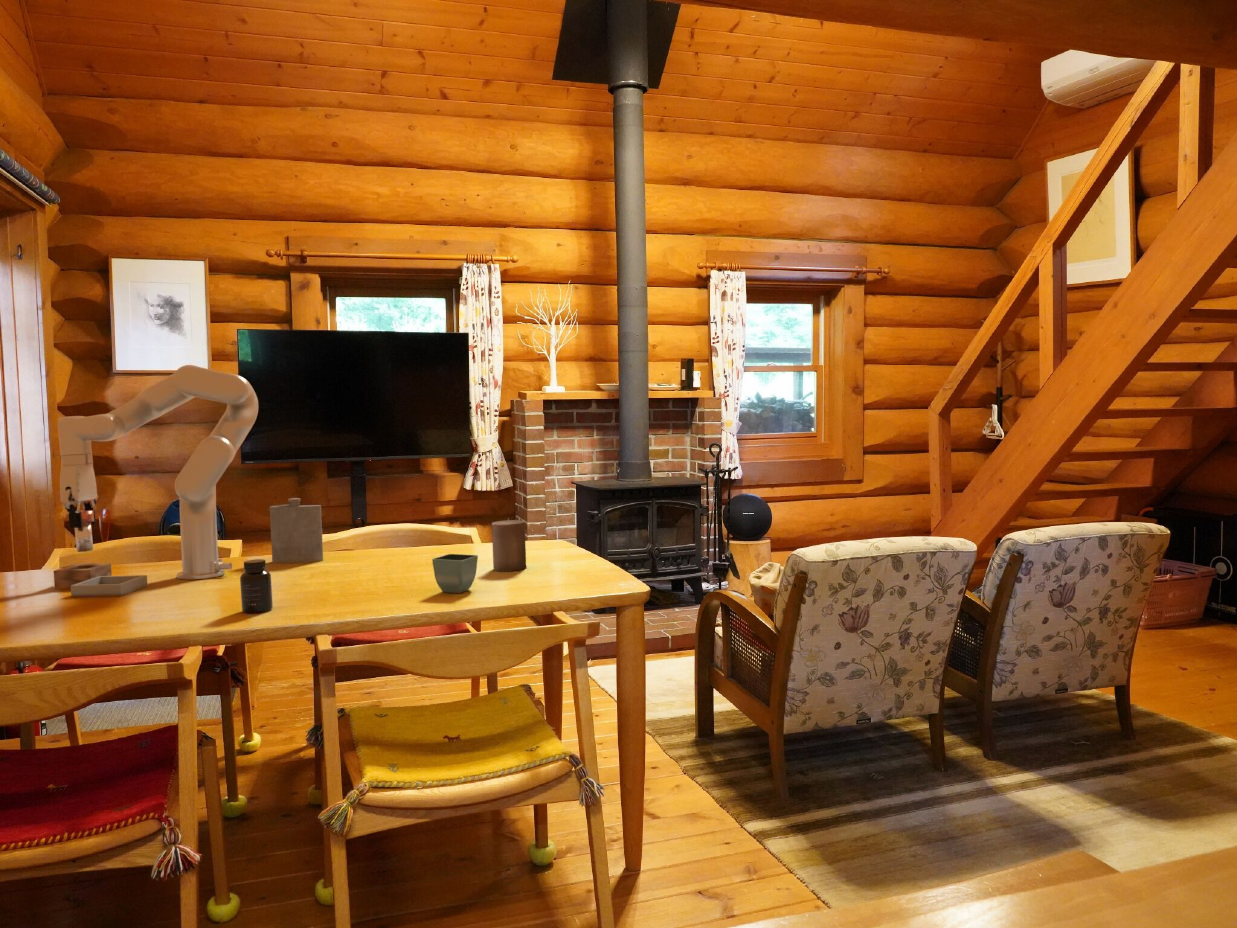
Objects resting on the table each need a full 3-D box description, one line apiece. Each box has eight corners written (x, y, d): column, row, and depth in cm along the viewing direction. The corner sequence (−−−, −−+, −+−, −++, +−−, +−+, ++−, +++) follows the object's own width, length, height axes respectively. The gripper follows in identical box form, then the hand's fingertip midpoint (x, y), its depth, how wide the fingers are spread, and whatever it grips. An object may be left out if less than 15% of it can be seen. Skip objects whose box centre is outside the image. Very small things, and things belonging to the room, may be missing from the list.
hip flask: (324, 559, 283) (322, 497, 282) (320, 562, 279) (317, 498, 278) (274, 560, 283) (271, 497, 282) (269, 563, 279) (266, 499, 278)
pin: (80, 549, 252) (77, 510, 251) (100, 548, 252) (97, 509, 251) (68, 552, 246) (65, 513, 245) (89, 551, 246) (85, 512, 245)
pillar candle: (533, 567, 263) (531, 516, 262) (512, 572, 255) (510, 520, 254) (507, 565, 268) (505, 515, 267) (485, 570, 260) (484, 518, 259)
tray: (147, 585, 246) (146, 575, 246) (121, 596, 233) (120, 584, 233) (100, 586, 246) (99, 576, 246) (71, 597, 233) (70, 585, 233)
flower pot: (479, 588, 233) (478, 554, 233) (463, 595, 225) (462, 560, 224) (449, 587, 236) (448, 553, 236) (432, 594, 228) (431, 559, 227)
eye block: (112, 580, 254) (110, 563, 254) (91, 588, 244) (90, 570, 244) (76, 581, 254) (75, 564, 254) (54, 588, 244) (53, 570, 244)
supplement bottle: (247, 608, 216) (244, 558, 215) (276, 607, 216) (274, 557, 215) (237, 614, 209) (235, 563, 208) (267, 613, 209) (265, 562, 209)
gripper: (81, 459, 256) (87, 522, 257) (43, 464, 239) (49, 531, 240) (108, 458, 256) (113, 521, 257) (71, 462, 239) (78, 530, 240)
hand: (82, 525), depth 248 cm, fingers closed on pin, 5 cm apart
